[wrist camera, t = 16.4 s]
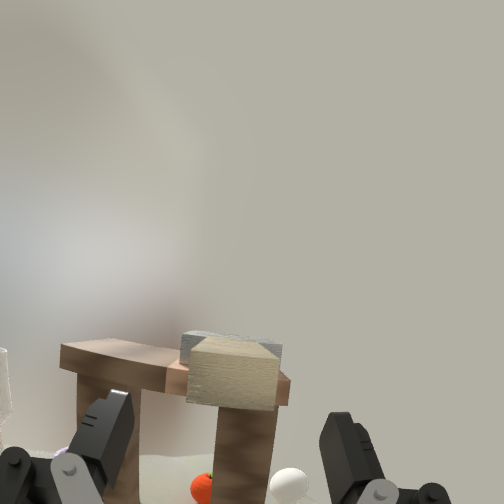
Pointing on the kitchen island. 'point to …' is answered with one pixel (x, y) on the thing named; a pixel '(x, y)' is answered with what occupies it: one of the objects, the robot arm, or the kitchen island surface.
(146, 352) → the shelf
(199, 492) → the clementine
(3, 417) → the champagne flute
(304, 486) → the light bulb
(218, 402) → the beige and gray block
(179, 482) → the kitchen island surface
